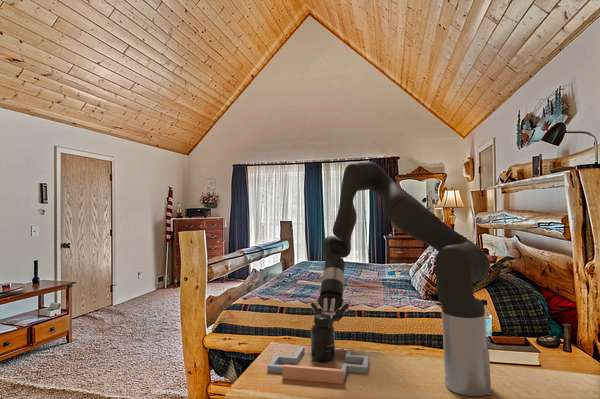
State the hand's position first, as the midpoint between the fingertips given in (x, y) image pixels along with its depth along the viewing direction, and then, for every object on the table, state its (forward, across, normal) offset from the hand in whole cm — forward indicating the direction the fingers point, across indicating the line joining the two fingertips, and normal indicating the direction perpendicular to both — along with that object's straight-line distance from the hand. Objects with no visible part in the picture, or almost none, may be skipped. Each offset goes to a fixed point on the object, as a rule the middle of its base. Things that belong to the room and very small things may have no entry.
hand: (327, 332), depth 108 cm
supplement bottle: (+8, 0, -1) cm, 9 cm away
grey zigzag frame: (+12, 0, -4) cm, 13 cm away
